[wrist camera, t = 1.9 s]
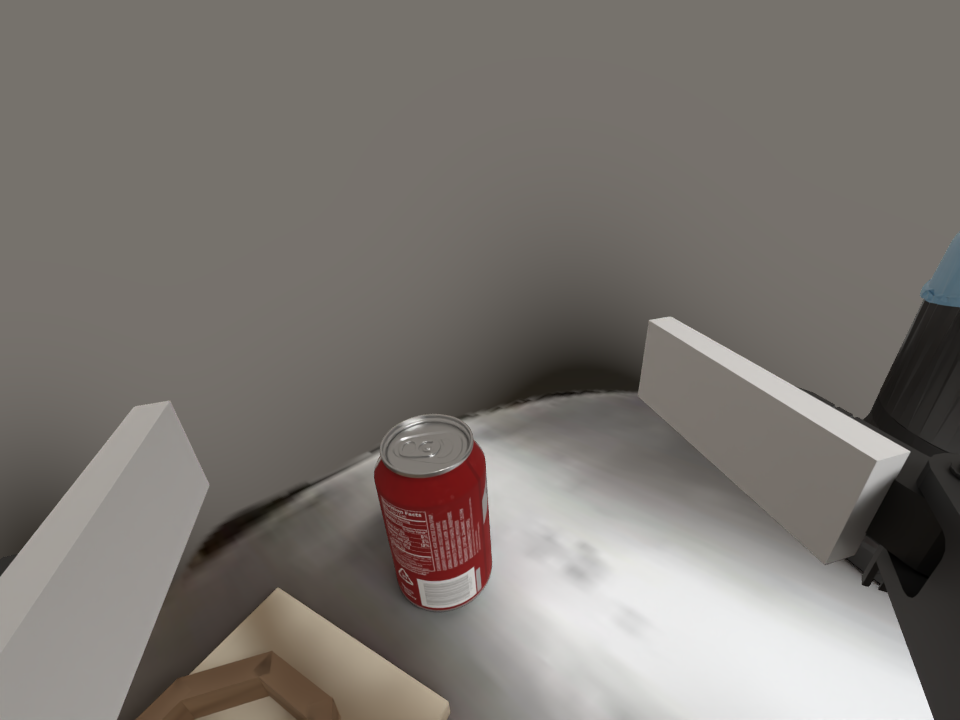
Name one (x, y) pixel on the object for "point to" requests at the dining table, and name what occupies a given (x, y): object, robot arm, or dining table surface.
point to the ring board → (295, 675)
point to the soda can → (435, 510)
